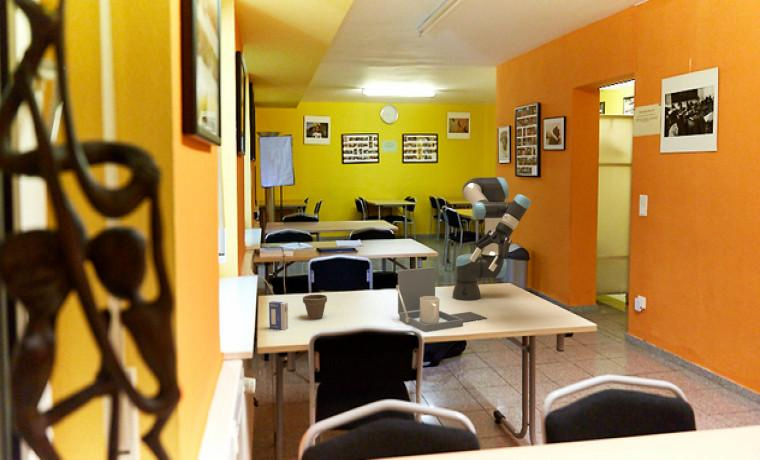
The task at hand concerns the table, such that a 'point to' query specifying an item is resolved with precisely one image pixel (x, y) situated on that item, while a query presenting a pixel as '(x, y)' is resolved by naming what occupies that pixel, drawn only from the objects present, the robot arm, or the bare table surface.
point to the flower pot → (315, 305)
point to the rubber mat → (469, 316)
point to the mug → (429, 309)
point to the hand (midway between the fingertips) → (481, 265)
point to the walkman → (278, 315)
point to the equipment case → (409, 294)
